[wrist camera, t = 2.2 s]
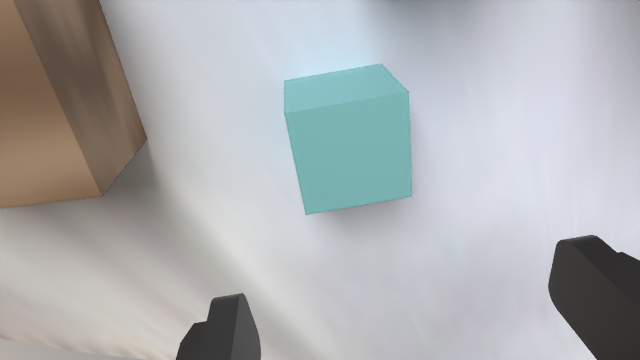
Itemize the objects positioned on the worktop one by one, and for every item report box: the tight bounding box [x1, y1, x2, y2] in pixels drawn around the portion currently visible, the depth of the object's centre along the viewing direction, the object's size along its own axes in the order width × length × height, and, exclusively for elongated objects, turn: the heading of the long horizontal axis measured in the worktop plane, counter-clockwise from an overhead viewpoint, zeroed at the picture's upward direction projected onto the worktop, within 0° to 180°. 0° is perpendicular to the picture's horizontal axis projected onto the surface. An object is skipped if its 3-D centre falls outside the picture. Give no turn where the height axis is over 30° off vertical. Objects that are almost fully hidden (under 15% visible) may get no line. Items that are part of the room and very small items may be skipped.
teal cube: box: [284, 64, 412, 215], centre depth 18 cm, size 5×5×5 cm
